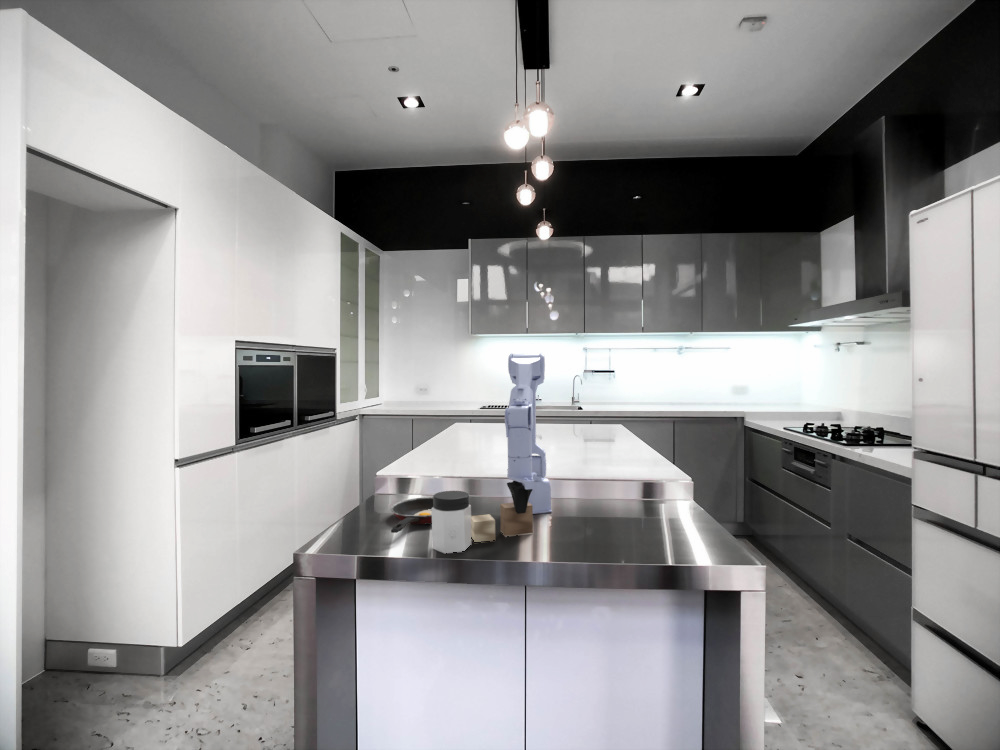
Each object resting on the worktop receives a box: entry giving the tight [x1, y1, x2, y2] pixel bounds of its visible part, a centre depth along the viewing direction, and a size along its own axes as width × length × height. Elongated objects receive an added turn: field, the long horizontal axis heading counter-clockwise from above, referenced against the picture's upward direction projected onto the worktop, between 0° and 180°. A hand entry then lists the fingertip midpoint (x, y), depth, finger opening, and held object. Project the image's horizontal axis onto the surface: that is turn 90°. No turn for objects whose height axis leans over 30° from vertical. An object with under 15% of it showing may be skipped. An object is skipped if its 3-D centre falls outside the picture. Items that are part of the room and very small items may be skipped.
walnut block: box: [499, 502, 534, 538], centre depth 131 cm, size 7×4×7 cm, turn 106°
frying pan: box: [389, 496, 433, 534], centre depth 139 cm, size 19×32×4 cm, turn 169°
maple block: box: [471, 514, 496, 543], centre depth 127 cm, size 5×5×5 cm
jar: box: [431, 490, 472, 554], centre depth 121 cm, size 9×8×12 cm
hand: (520, 512), depth 127 cm, fingers closed
